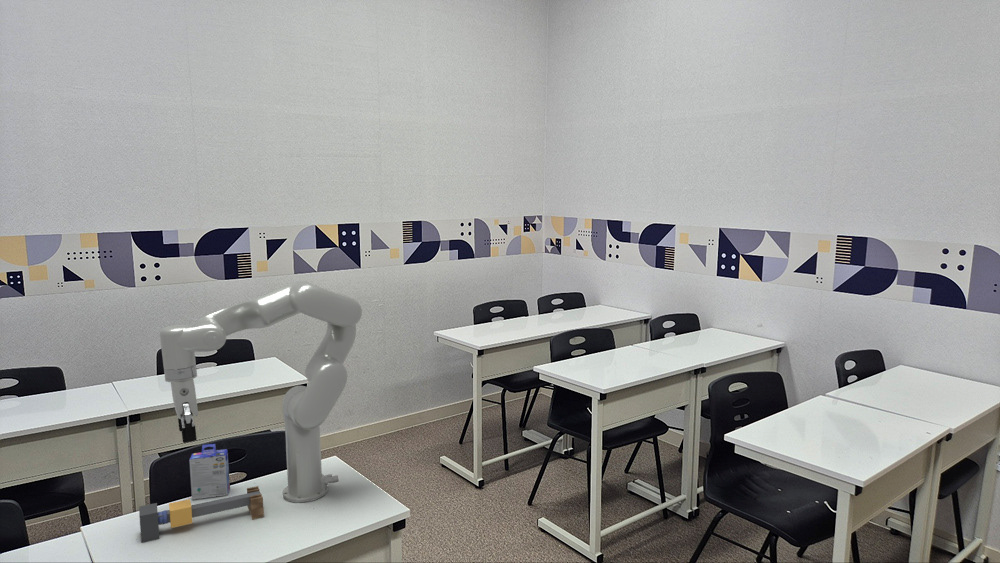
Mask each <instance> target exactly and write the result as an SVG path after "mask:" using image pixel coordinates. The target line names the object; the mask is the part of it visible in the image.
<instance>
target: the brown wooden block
mask: <svg viewBox="0 0 1000 563" xmlns="http://www.w3.org/2000/svg"><path fill="white" fill-rule="evenodd" d="M257 491H260V487H259V485H257V486H252V487H247V488H246V494H247V493H252V492H257ZM260 492H261V491H260ZM247 509H248V512H249V514H250V516H251V520H257V519H261V518H262V519H263V518H264V517H265V510H264V509H265V508H264V496H263V494H262V493H261V494H258V495H253V496H250V505H249V506H247Z"/></svg>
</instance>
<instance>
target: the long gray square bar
mask: <svg viewBox="0 0 1000 563" xmlns="http://www.w3.org/2000/svg"><path fill="white" fill-rule="evenodd" d="M258 494H262V492H261V491H257V492H252V493H247V492H246V493H244V494H243V493H242V494H238V495H234V496H228V497H223V498H220V499H215V500H211V501H205V502H199V503H195V504H191V508H192V519H193V518H198V517H202V516H207V515H211V514H216V513H220V512H225V511H231V510H234V509H239V508H244V507H248V506H249V505H250V496H253V495H258ZM160 512H163V515H159V516H158V517H162V516H163V523H161V524H158V525H159V526H160V525H166V524H171V522H170V510H169V509H166V510H162V511H160Z"/></svg>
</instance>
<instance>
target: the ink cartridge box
mask: <svg viewBox="0 0 1000 563" xmlns="http://www.w3.org/2000/svg"><path fill="white" fill-rule="evenodd" d="M206 448H211V449H206ZM188 462H189V475H190V477H189V478H190V489H191V500H192V501H193V499H194V500H200V499H209V498H215V497H216V496H217V497H224V496H228V495H229V493H230V491H231V485H230V483H231V482H230V469H229V468H230V467H229V465H230V464H229V452H228V449H217V448H216V443H209V444H202V446H201V452H195V453H191V455H190V458H189V460H188Z"/></svg>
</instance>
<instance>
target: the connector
mask: <svg viewBox="0 0 1000 563" xmlns="http://www.w3.org/2000/svg"><path fill="white" fill-rule="evenodd" d="M138 509H139V512H138V513H139V528H140V538H141V539H140V541H141V543H142V544H143V543H146V542H152V541H156V540H159V539H160V538H161V537H160V525H158V524H161V523H163V516H162V517H158V516H159V515H163V512H161V511H158V503H157V502H155V503H149V504H145V505H140V506H138Z"/></svg>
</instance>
